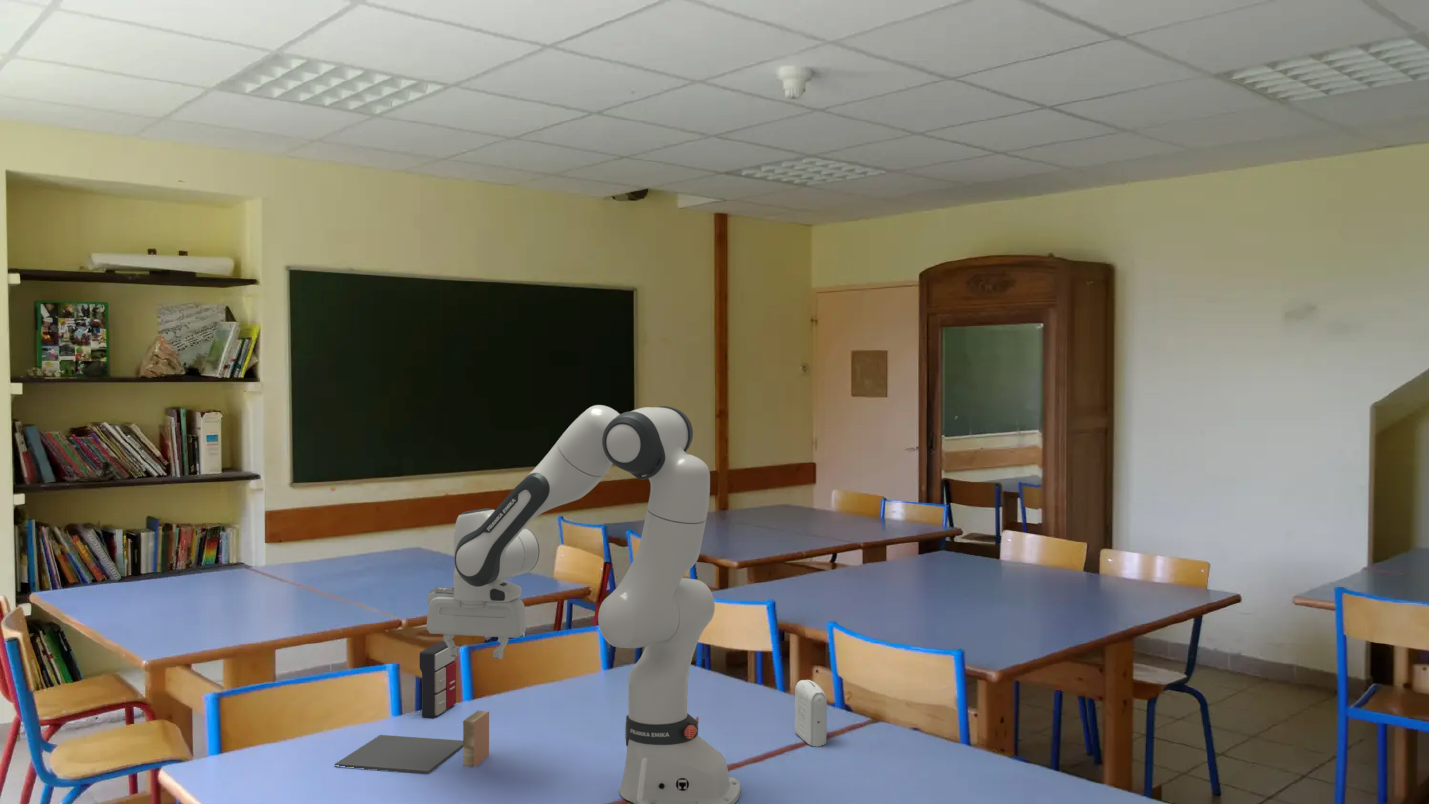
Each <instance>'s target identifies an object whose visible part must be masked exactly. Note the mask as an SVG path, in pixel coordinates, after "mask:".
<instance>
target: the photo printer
mask: <svg viewBox="0 0 1429 804" xmlns="http://www.w3.org/2000/svg"><path fill="white" fill-rule="evenodd" d="M827 700H828V698H827V696H826V694H825V691H824V690H823V689H822V687H821V686H820V685H819V684H817V683H816V682H814V681H812V680H810V679H801V680H799V681H798V682H796V685H795V688H794V733H795V734H796V736H798V737H800V739H801V740H803V741H804V742H805V743H806V744H808V745H809V746H812V747H814V746H819V747H822V746H821V745H823V746H825V744H827V732H828V730H827V720H828V719H827V718H828V716H827V714H828V713H827V710H828V706H827V705H828V703H827V702H828V701H827Z"/></svg>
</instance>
